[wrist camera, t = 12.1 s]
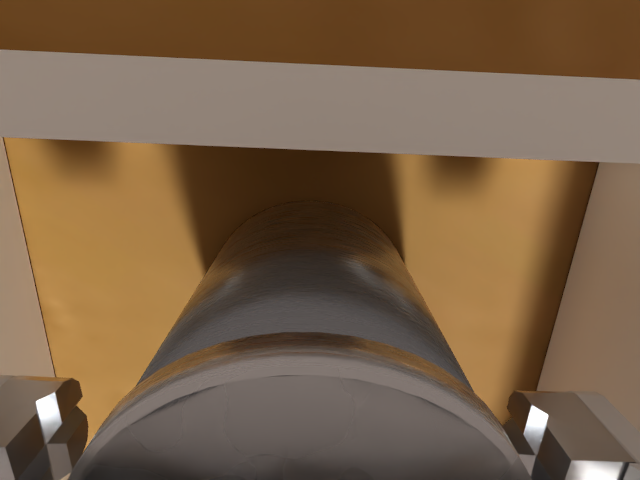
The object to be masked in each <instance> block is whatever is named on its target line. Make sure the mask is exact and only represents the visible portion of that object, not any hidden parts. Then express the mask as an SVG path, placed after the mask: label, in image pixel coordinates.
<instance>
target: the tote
mask: <svg viewBox="0 0 640 480" xmlns="http://www.w3.org/2000/svg"><path fill="white" fill-rule="evenodd" d="M3 137H12V138H36V139H60V140H83V141H107V142H131V143H155V144H179V145H203V146H227V147H251V148H275V149H299V150H323V151H347V152H371V153H395V154H419V155H443V156H467V157H491V158H515V159H539V160H563V161H587V162H600V163H599V166H598V170H597V173H596V177H595V181H594V184H593V188H592V192H591V195H590V199H589V202H588V206H587V210H586V213H585V217H584V220H583V224H582V228H581V231H580V235H579V238H578V242H577V246H576V249H575V253H574V257H573V260H572V264H571V267H570V271H569V275H568V278H567V282H566V285H565V289H564V293H563V296H562V300H561V304H560V307H559V311H558V314H557V318H556V322H555V325H554V329H553V332H552V336H551V340H550V343H549V347H548V351H547V354H546V358H545V361H544V365H543V369H542V372H541V376H540V379H539V383H538V387H537V390H536V391H559V392H567V391H595V392H597V393H599V394H601V395H603V396H604V397H605V398H606V399H607V400H608V401H609V402H610V403H611V404H612V405H613V406H614V407H615V408H616V409H617V410H618V411H619V412H620V413H621V414H622V415H623V416H624V417H625V418H626V419H627V420H628V421H629V422H630V423H631V424H632V425H633V426H634V427H635V428H636V429H637V430H638V431H639V432H640V80H636V79H614V78H593V77H572V76H551V75H530V74H509V73H487V72H466V71H445V70H424V69H403V68H381V67H360V66H339V65H318V64H297V63H275V62H254V61H233V60H212V59H191V58H169V57H148V56H127V55H106V54H85V53H64V52H42V51H21V50H0V375H11V376H19V375H20V376H40V377H55V374H54V369H53V365H52V360H51V356H50V351H49V347H48V342H47V338H46V333H45V328H44V324H43V319H42V315H41V310H40V306H39V301H38V297H37V292H36V287H35V283H34V278H33V274H32V269H31V265H30V260H29V256H28V251H27V247H26V242H25V237H24V233H23V228H22V224H21V219H20V215H19V210H18V206H17V201H16V196H15V192H14V187H13V183H12V178H11V174H10V169H9V165H8V160H7V156H6V151H5V146H4V142H3ZM70 474H71V473H69V474H68V475H66V476H65V477H63V478H62V479H60V480H67V479H68V477H69V476H70Z"/></svg>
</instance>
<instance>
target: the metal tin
mask: <svg viewBox="0 0 640 480" xmlns="http://www.w3.org/2000/svg"><path fill="white" fill-rule="evenodd" d="M67 480H532V479H531V477H530V475H529V473H528V471H527V469H526V467H525V465H524V464H523V462H522V460H521V458H520V457H519V455H518V453H517V451H516V450H515V448H514V446H513V444H512V443H511V441H510V439H509V437H508V436H507V434H506V432H505V430H504V429H503V427H502V425H501V423H500V422H499V421H498V419H497V418H496V417H495V416H494V414H493V413H492V412H491V410H490V409H489V408H488V406H487V405H486V404H485V403H484V402H483V401H482V400H481V399H480V398H479V397H478V396H477V395H476V394H475V393H474V391H473V389H472V387H471V386H470V384H469V382H468V380H467V378H466V376H465V375H464V373H463V371H462V369H461V367H460V365H459V364H458V362H457V360H456V358H455V356H454V354H453V352H452V351H451V349H450V347H449V345H448V343H447V341H446V340H445V338H444V336H443V334H442V332H441V330H440V329H439V327H438V325H437V323H436V321H435V319H434V318H433V316H432V314H431V312H430V310H429V308H428V307H427V305H426V303H425V301H424V299H423V297H422V295H421V294H420V292H419V290H418V288H417V286H416V284H415V283H414V281H413V279H412V277H411V275H410V273H409V272H408V270H407V268H406V266H405V264H404V262H403V261H402V259H401V257H400V255H399V253H398V251H397V249H396V248H395V246H394V244H393V243H392V242H391V240H390V239H389V237H388V236H387V235H386V234H385V233H384V232H383V231H382V230H381V229H380V228H379V227H378V226H377V225H376V224H375V223H373V222H372V221H371V220H369V219H368V218H367V217H365V216H363V215H361V214H360V213H358V212H356V211H354V210H351V209H349V208H347V207H344V206H341V205H337V204H333V203H329V202H322V201H296V202H288V203H284V204H280V205H276V206H274V207H271V208H269V209H266V210H264V211H262V212H260V213H258V214H256V215H255V216H253V217H251V218H250V219H248V220H247V221H246V222H244V223H243V224H242V225H241V226H240V227H239V228H238V229H237V230H236V231H235V232H234V233H233V234H232V235H231V236H230V237H229V239H228V240H227V241H226V243H225V244H224V246H223V247H222V249H221V250H220V252H219V254H218V255H217V257H216V258H215V260H214V262H213V263H212V265H211V266H210V268H209V270H208V271H207V273H206V274H205V276H204V278H203V279H202V281H201V282H200V284H199V286H198V287H197V289H196V290H195V292H194V294H193V295H192V297H191V298H190V300H189V302H188V303H187V305H186V306H185V308H184V310H183V311H182V313H181V314H180V316H179V318H178V319H177V321H176V322H175V324H174V326H173V327H172V329H171V330H170V332H169V334H168V335H167V337H166V338H165V340H164V342H163V343H162V345H161V347H160V348H159V350H158V351H157V353H156V355H155V356H154V358H153V359H152V361H151V363H150V364H149V366H148V367H147V369H146V371H145V372H144V374H143V375H142V377H141V379H140V380H139V382H138V383H137V385H136V387H135V388H134V389H133V390H131V391H130V392H129V393H128V394H127V395H126V396H125V397H124V398H123V399H122V400H121V401H120V402H119V403H118V404H117V405H116V406H115V408H114V409H113V410H112V412H111V413H110V414H109V416H108V417H107V418H106V420H105V421H104V422H103V423H102V425H101V426H100V428H99V430H98V431H97V433H96V434H95V436H94V437H93V439H92V440H91V442H90V443H89V445H88V446H87V448H86V449H85V451H84V452H83V454H82V455H81V457H80V459H79V460H78V462H77V463H76V465H75V466H74V468H73V470H72V472H71V474H70V476H69V477H68V479H67Z"/></svg>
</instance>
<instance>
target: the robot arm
mask: <svg viewBox="0 0 640 480" xmlns="http://www.w3.org/2000/svg"><path fill="white" fill-rule="evenodd" d="M82 397H83V395H82V391H81V387H80V383H79V381H77V380H75V379H73V378H59V377H40V376H20V375H19V376H11V375H0V480H60V479H62V478H63V477H65V476H66V475H68V474H69V473H71V472H72V470H73V468H74V466H75V465H76V463H77V462H78V460H79V459H80V457H81V455H82V454H83V451H84V448H85V445H86V442H87V439H88V421H87V416H86V415H85V414H84V413H83V412H82V411H81V410H80V409H79V408H78V407H77V406H76V405H77V404H78V402H79V401H80V399H81V398H82ZM507 409H508V410H509V412H510V414H511V415H512V418H511V419H510V420H508V421H507V422H506V423H505V424H504V425H503V426H502V427H503V429H504V430H505V432H506V434H507V436H508V437H509V439H510V441H511V443H512V444H513V446H514V448H515V450H516V451H517V453H518V455H519V457H520V458H521V460H522V462H523V464H524V465H525V467H526V469H527V471H528V473H529V475H530V477H531V479H532V480H640V432H639V431H638V430H637V429H636V428H635V427H634V426H633V425H632V424H631V423H630V422H629V421H628V420H627V419H626V418H625V417H624V416H623V415H622V414H621V413H620V412H619V411H618V410H617V409H616V408H615V407H614V406H613V405H612V404H611V403H610V402H609V401H608V400H607V399H606V398H605V397H604V396H603V395H601V394H599V393H597V392H595V391H567V392H559V391H514V392H513V393H512V394H511V396H510V397H509V401H508V405H507Z"/></svg>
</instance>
